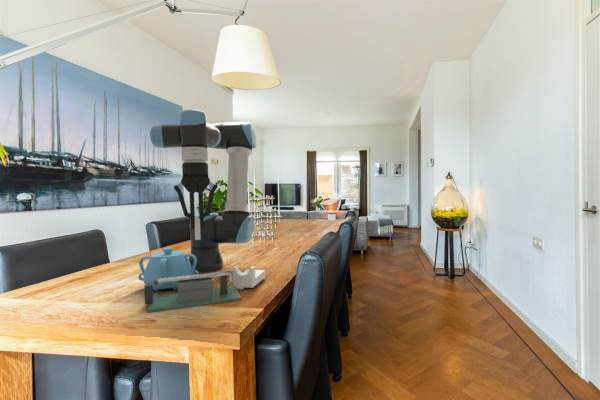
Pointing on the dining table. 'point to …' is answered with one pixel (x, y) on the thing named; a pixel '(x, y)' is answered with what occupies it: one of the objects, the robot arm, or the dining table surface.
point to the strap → (193, 277)
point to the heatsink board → (174, 300)
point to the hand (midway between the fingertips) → (197, 239)
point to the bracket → (247, 277)
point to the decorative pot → (166, 267)
